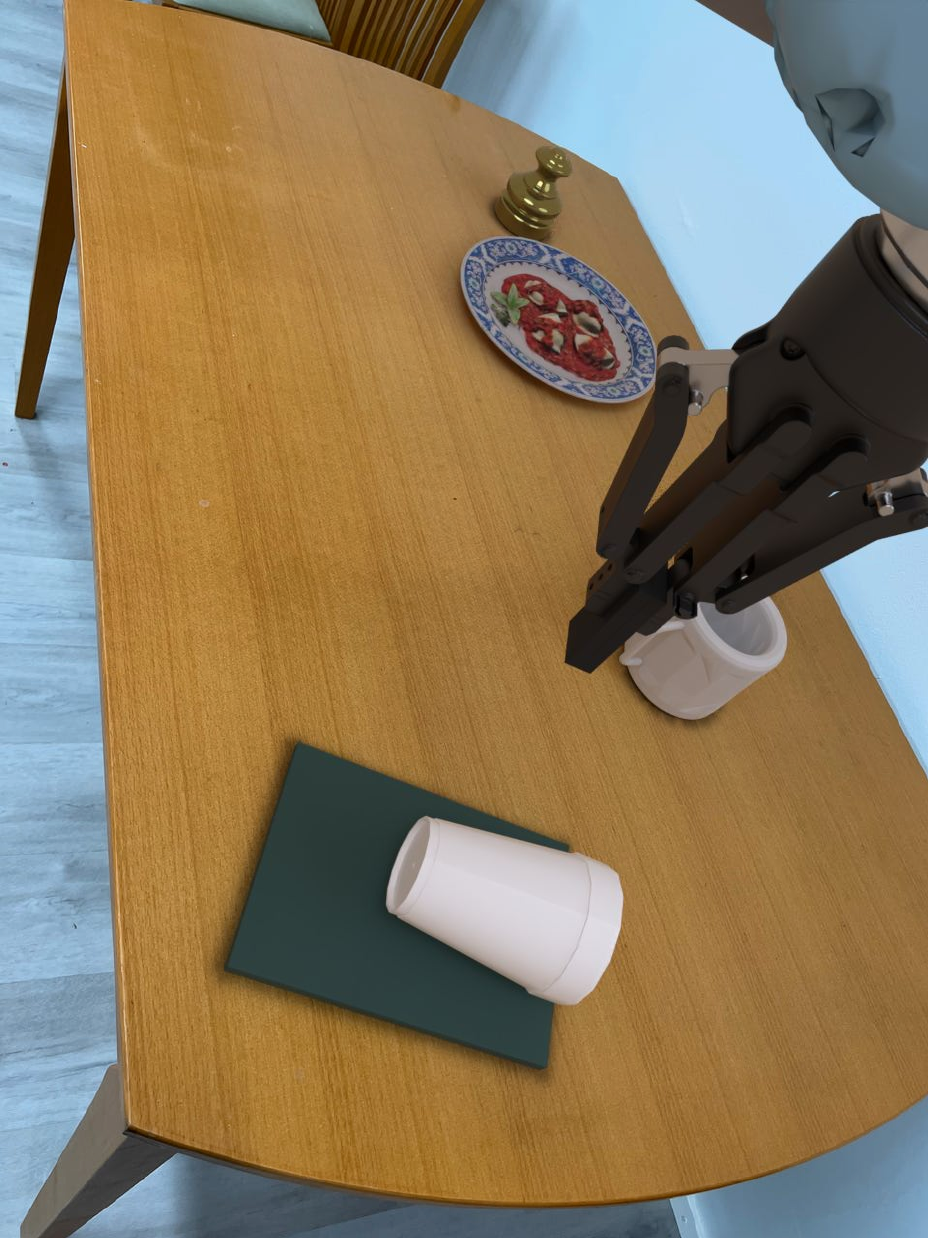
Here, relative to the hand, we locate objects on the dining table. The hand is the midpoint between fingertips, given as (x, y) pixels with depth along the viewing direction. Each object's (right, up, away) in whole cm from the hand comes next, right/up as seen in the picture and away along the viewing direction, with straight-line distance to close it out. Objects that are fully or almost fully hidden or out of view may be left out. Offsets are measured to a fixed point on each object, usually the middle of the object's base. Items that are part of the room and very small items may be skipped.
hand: (579, 647), depth 49 cm
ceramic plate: (+5, +35, +63) cm, 72 cm away
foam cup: (-10, -14, +13) cm, 21 cm away
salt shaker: (+1, +51, +73) cm, 89 cm away
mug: (+12, -3, +41) cm, 43 cm away
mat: (-9, -18, +18) cm, 27 cm away
